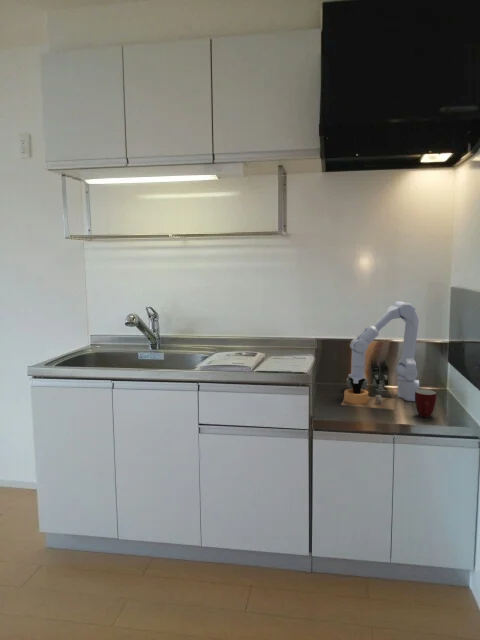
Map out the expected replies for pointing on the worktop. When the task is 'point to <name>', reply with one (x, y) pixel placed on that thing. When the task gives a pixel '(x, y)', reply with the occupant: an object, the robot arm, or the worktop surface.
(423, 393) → the mug
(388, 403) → the shelf plate
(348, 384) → the mortar and pestle
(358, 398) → the orange notched ring
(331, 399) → the worktop surface
